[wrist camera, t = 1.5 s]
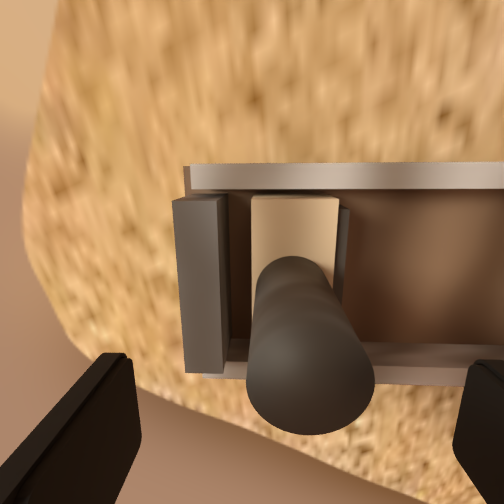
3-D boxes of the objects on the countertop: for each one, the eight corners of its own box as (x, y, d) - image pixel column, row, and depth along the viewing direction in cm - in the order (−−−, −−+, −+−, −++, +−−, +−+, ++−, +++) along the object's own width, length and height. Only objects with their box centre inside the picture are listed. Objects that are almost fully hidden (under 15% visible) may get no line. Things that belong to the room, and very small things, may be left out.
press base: (608, 162, 17) (863, 157, 10) (550, 349, 20) (707, 451, 13) (189, 164, 18) (138, 162, 11) (200, 340, 21) (165, 428, 14)
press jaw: (337, 193, 16) (429, 228, 7) (327, 338, 19) (385, 505, 9) (254, 193, 17) (236, 227, 7) (254, 336, 19) (241, 497, 10)
